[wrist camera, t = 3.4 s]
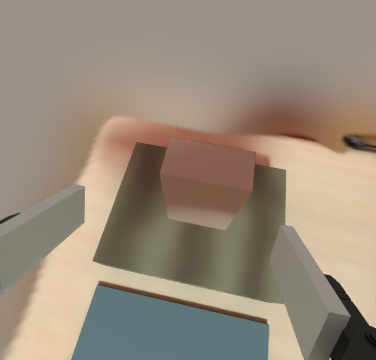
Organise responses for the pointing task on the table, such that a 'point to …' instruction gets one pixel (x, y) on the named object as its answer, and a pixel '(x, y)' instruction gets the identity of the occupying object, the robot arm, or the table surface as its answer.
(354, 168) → the table surface
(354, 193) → the table surface
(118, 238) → the brown flat block
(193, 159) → the salmon pink brick
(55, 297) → the table surface
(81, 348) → the mat
